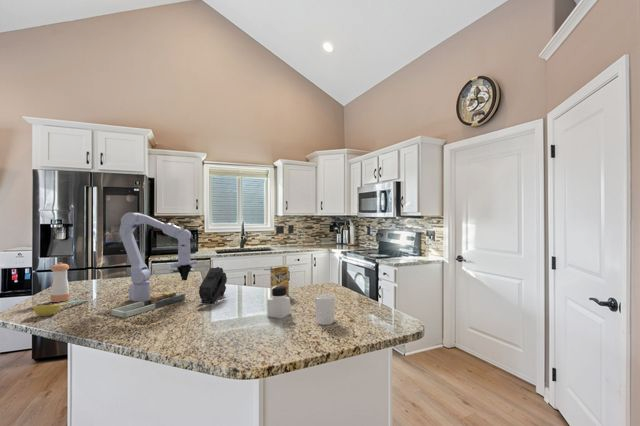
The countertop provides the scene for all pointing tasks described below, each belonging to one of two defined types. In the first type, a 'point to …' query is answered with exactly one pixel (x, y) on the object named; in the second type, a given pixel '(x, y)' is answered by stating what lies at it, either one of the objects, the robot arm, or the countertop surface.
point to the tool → (213, 285)
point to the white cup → (325, 308)
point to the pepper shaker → (60, 283)
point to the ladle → (50, 308)
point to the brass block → (168, 294)
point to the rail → (165, 301)
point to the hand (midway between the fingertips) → (184, 280)
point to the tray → (123, 314)
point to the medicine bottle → (278, 303)
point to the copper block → (156, 298)
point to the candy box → (280, 277)
